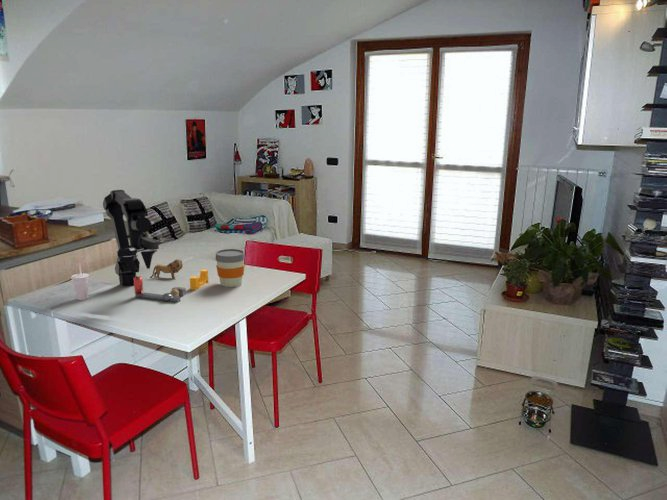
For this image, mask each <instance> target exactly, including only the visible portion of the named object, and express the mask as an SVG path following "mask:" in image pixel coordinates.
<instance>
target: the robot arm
mask: <svg viewBox="0 0 667 500" xmlns="http://www.w3.org/2000/svg"><path fill="white" fill-rule="evenodd" d="M102 207H103V210H104V211H105V213H106V216H107V217H108V218H110V220H111V222H112V226H113V230H114V235H115V239H116V244H117V248H118V249H117V250H116V251H117V252H116V254H117V256H116V264H115V266H114V272H115V274H116V275H117V276H118V280H119V285H121V286H122V287H134V277H138V276H137V273H140V260H139V259H138V255H137V254H138V253H139V252H140V255H141V256H142V259H143V262H144V264H145V267H146V269H150V268H151V266H152V265H151V264H152V259H153V256H154V254H155V253H156V252H157V251H158V250H159V245H161V244H162V243H161V237H160V236H159V235H154V236H153V237H149V236H148V233H147V232H149V231H150V229H151V228H152V222H151V220H150V219H149V218H148V217H147V216H148V215H149V214H148V209H147V207H146V206H145V204H144V202H143V201H142V200H141V198H135V197H134V198H133V197H131V196H130V195H128V194H127V193H126V192H125V190H124V189H114V190H113V189H112V190H111V191H110V193H109V194H108V195H106V196H104V199H103V202H102ZM124 216H125V218H126V223H127V224H126V225H127V226H126V225H125V219H124ZM126 227H127V229H126ZM127 232H128V233H127Z"/></svg>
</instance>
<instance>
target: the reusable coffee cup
mask: <svg viewBox="0 0 667 500" xmlns="http://www.w3.org/2000/svg"><path fill="white" fill-rule="evenodd" d="M245 258H246V257H245V251H244V250H242V249H240V248H239V249H238V248H237V249H236V248H225V249H220V250H217V251H216V252H215V262H216V271H217V276H218V277H219V284H220V286H222V287H226V288H230V287H231V288H234V287H239V288H240V287H242V284H243V277H244V274H245V266H246V265H245V260H246V259H245Z"/></svg>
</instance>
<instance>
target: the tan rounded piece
mask: <svg viewBox="0 0 667 500" xmlns="http://www.w3.org/2000/svg"><path fill="white" fill-rule="evenodd" d="M169 293H172V294H173V296H179V291H178V290H177V289H173V290H172V289H171V290H170V292H169Z"/></svg>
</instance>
